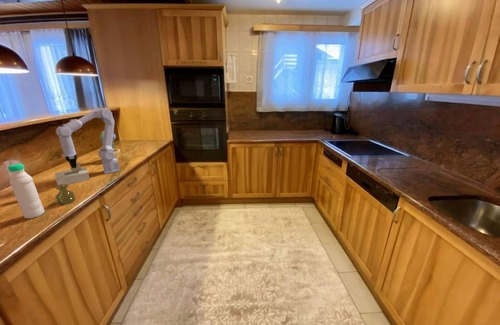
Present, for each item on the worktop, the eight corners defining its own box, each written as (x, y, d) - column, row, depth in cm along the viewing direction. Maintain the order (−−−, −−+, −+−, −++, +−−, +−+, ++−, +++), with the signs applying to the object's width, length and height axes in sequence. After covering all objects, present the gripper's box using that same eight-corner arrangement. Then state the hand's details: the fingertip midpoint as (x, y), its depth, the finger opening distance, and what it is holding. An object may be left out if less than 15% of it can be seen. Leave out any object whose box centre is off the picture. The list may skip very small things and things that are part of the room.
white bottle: (47, 213, 102) (29, 163, 94) (27, 221, 96) (5, 168, 88) (41, 209, 105) (23, 161, 97) (22, 216, 100) (0, 166, 91)
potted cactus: (111, 164, 170) (103, 132, 162) (96, 162, 174) (87, 132, 165) (126, 158, 184) (120, 129, 176) (112, 157, 188) (105, 128, 180)
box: (87, 173, 150) (85, 167, 149) (90, 179, 140) (88, 172, 139) (57, 180, 140) (55, 173, 139) (58, 186, 131) (55, 179, 129)
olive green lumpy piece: (64, 198, 116) (59, 181, 112) (79, 198, 116) (74, 181, 113) (53, 205, 109) (47, 187, 106) (69, 205, 109) (63, 187, 106)
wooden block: (81, 169, 139) (79, 161, 138) (81, 170, 137) (79, 162, 136) (71, 171, 136) (69, 163, 134) (72, 172, 134) (69, 164, 133)
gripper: (58, 145, 134) (65, 166, 138) (60, 149, 123) (66, 171, 128) (73, 143, 138) (79, 163, 143) (75, 147, 128) (81, 168, 132)
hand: (74, 167), depth 136 cm, fingers closed on wooden block, 2 cm apart
